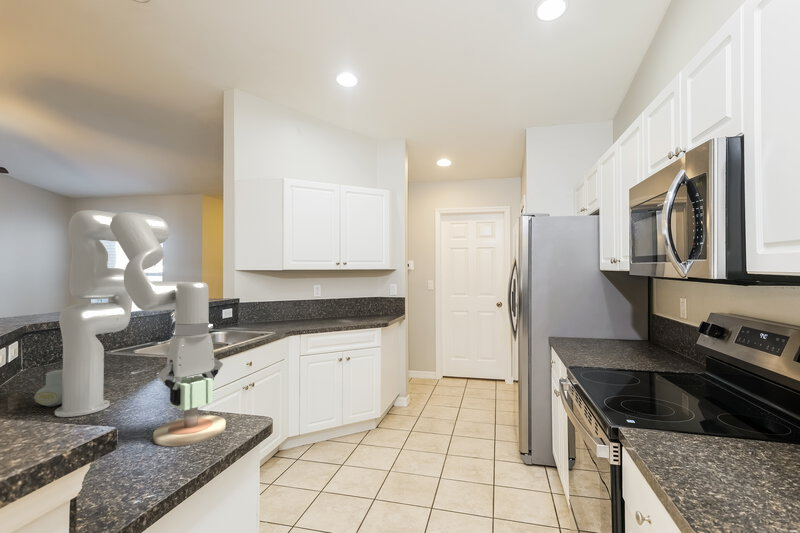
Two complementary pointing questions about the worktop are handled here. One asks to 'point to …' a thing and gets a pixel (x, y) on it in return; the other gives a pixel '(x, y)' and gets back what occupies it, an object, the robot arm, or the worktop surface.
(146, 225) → the robot arm
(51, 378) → the air freshener
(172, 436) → the post base
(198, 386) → the collar
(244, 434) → the worktop surface
